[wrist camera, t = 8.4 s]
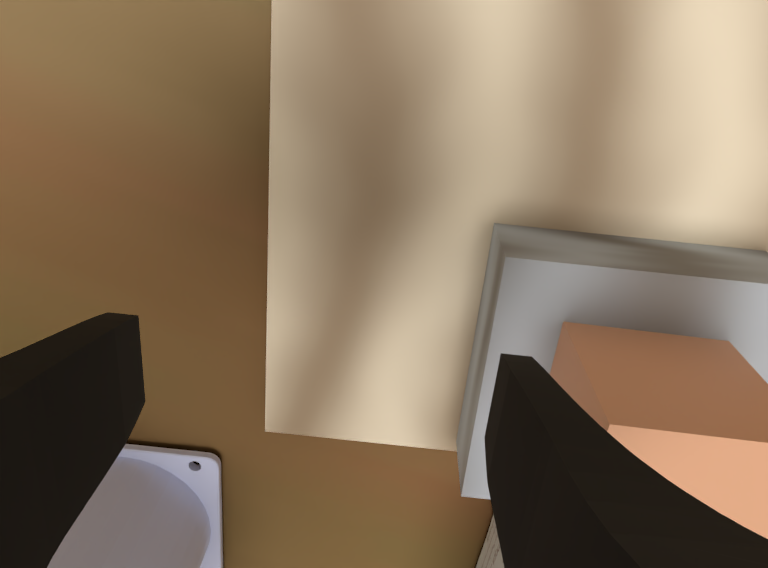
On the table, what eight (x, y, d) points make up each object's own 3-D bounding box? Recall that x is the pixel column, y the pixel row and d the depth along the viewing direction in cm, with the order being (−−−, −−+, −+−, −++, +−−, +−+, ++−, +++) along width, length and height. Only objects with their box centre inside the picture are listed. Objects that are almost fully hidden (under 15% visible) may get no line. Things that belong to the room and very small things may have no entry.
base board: (270, 415, 26) (246, 484, 22) (280, -93, 18) (246, -115, 15) (709, 461, 26) (758, 538, 22) (901, -30, 18) (1022, -37, 15)
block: (529, 453, 21) (560, 579, 16) (563, 321, 19) (609, 424, 14) (678, 470, 21) (750, 602, 16) (729, 341, 19) (827, 450, 14)
